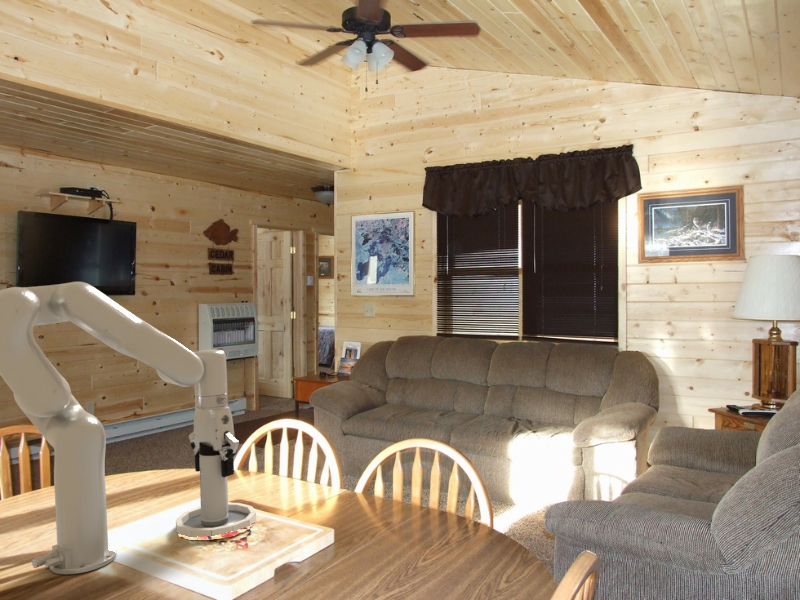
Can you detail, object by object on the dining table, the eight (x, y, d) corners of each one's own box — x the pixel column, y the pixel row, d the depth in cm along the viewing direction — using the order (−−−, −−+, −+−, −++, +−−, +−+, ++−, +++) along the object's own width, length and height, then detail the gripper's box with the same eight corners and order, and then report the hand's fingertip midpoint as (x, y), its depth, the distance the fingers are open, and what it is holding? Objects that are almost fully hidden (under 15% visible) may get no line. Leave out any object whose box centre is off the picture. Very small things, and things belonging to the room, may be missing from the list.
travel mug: (233, 516, 154) (230, 435, 154) (222, 527, 148) (220, 442, 147) (208, 516, 155) (206, 435, 154) (196, 526, 148) (194, 441, 148)
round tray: (209, 547, 139) (209, 535, 139) (161, 531, 149) (160, 520, 149) (270, 520, 153) (270, 510, 153) (222, 508, 164) (222, 498, 164)
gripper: (248, 401, 149) (251, 473, 149) (201, 396, 159) (204, 464, 159) (222, 407, 143) (225, 482, 143) (175, 401, 153) (178, 472, 153)
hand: (214, 472), depth 151 cm, fingers open, 9 cm apart
